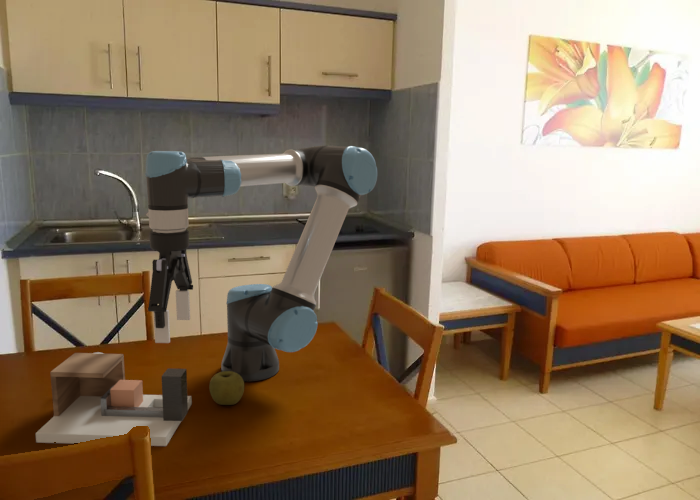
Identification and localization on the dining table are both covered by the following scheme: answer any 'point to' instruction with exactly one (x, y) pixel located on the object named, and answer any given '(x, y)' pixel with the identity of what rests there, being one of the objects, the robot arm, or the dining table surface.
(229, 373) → the apple
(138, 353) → the dining table surface
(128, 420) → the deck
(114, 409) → the grey u-shaped bracket
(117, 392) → the cube
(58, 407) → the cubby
